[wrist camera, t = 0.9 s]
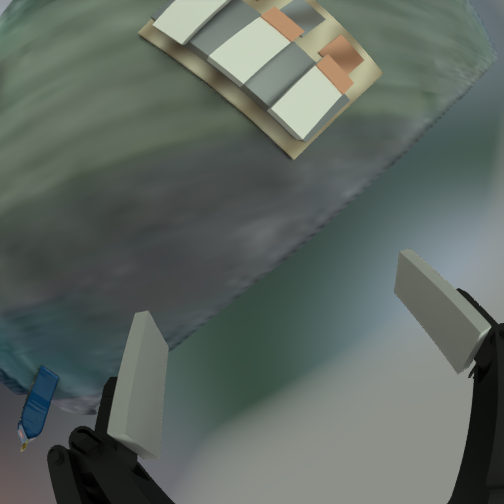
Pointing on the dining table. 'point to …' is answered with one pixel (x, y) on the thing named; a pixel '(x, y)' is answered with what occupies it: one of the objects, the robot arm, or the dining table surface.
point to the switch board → (311, 41)
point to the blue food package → (36, 406)
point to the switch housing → (267, 77)
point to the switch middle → (254, 45)
